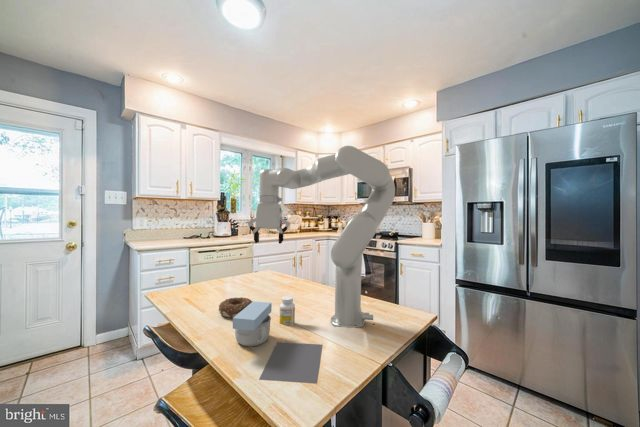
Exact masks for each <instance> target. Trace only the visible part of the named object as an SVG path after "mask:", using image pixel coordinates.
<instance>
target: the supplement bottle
mask: <svg viewBox="0 0 640 427" xmlns="http://www.w3.org/2000/svg"><path fill="white" fill-rule="evenodd" d="M281 302H282V303H280V304H279V324H280V325H283V326H289V325H290V326H291V325H293V326H294V325H295V324H296V323H295V322H296V321H295V319H296V318H295V313H296V312H295V310H296V307H295V306H296V305H295V303H294V297H293V296H287V295H285V296H282V298H281Z"/></svg>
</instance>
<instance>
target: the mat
mask: <svg viewBox="0 0 640 427" xmlns="http://www.w3.org/2000/svg"><path fill="white" fill-rule="evenodd" d="M322 351H323V344H321V343H320V344H316V343H301V342H300V343H299V342H283V341H281V342H280V341H278V342H277V341H276V343H275V346H274V348H273V350H272V352H271V353H270V356H269V358H268V360H267V362H266V364H265V366H264V367H263V368H264V369H263V370H262V372H261V375H259V381H260V380H261V381H262V380H263V381H274V382H275V381H276V382H291V383H306V384H318V379H319V371H320V363H321V358H322Z"/></svg>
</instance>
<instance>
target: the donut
mask: <svg viewBox="0 0 640 427" xmlns="http://www.w3.org/2000/svg"><path fill="white" fill-rule="evenodd" d="M252 302H253V300H252V299H250V298H246V297H231V298H230V297H229V298H226V299H225V300H223V301H221V302H220V303H219V305H218V312H219V314H220V315H221V316H223V317H225V318H232V319H233V318H234V317H235V316H236V315H237V314H238V313H240V312H241V311H242V310H243V309H244V308H246V307H247V306H248V305H249V304H250V303H252Z"/></svg>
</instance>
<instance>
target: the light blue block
mask: <svg viewBox="0 0 640 427" xmlns="http://www.w3.org/2000/svg"><path fill="white" fill-rule="evenodd" d="M252 301H253V300H252ZM272 304H273V303H272V302H267V301H266V302H265V301H253V302H252V303H250V304H249V305H248V306H247V307H246V308H244V309H243V310H242V311H241V312H240V313H238V314H237V315H236V316H235V317H234V318H232V330H235V329H242V330H254V331H255V329H256V328H257V327H258V326H259V325H260V324H261V323H262V322H263V321H264V319H265V318H266V317H267V316H268V315H269V316H270V314H271V313H272V309H273V308H272Z"/></svg>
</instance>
